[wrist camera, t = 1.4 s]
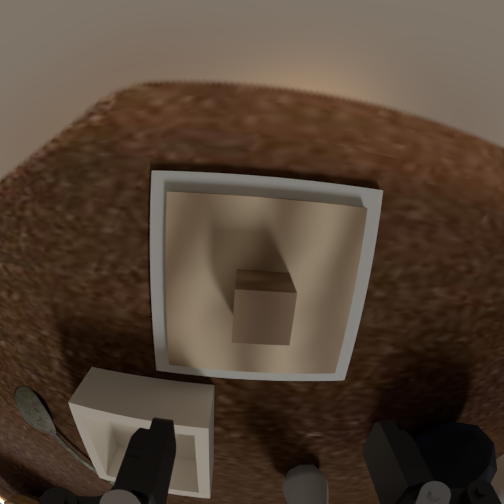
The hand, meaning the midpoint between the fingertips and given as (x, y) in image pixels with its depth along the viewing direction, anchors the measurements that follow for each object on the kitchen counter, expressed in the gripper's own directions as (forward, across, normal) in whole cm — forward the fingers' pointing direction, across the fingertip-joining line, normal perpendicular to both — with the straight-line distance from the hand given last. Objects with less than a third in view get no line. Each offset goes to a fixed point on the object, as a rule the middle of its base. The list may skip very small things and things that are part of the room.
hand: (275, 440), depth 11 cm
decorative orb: (+16, -25, +22) cm, 37 cm away
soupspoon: (+17, +24, +26) cm, 39 cm away
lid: (+15, 0, 0) cm, 15 cm away
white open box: (+16, +10, +17) cm, 25 cm away
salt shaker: (+16, -8, +26) cm, 31 cm away
